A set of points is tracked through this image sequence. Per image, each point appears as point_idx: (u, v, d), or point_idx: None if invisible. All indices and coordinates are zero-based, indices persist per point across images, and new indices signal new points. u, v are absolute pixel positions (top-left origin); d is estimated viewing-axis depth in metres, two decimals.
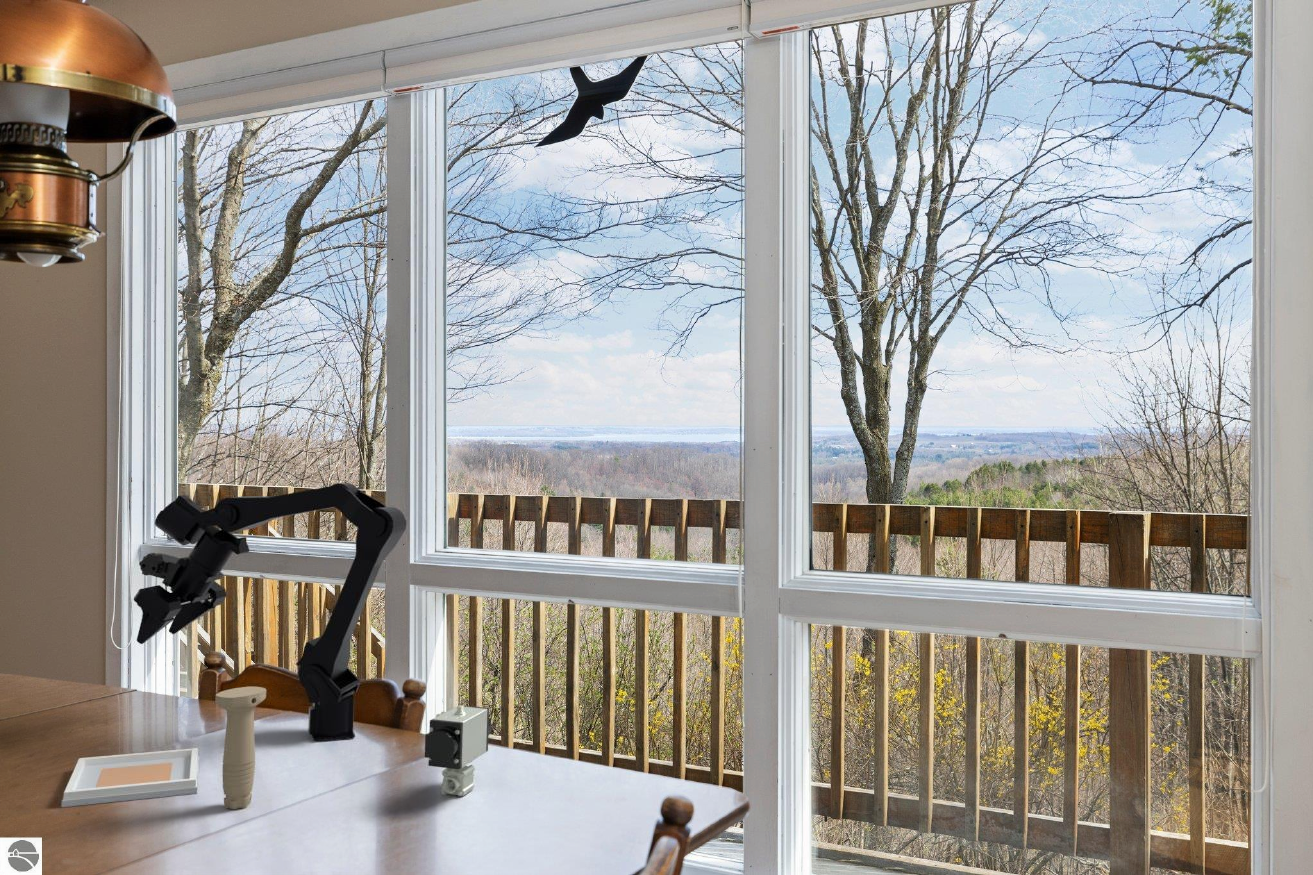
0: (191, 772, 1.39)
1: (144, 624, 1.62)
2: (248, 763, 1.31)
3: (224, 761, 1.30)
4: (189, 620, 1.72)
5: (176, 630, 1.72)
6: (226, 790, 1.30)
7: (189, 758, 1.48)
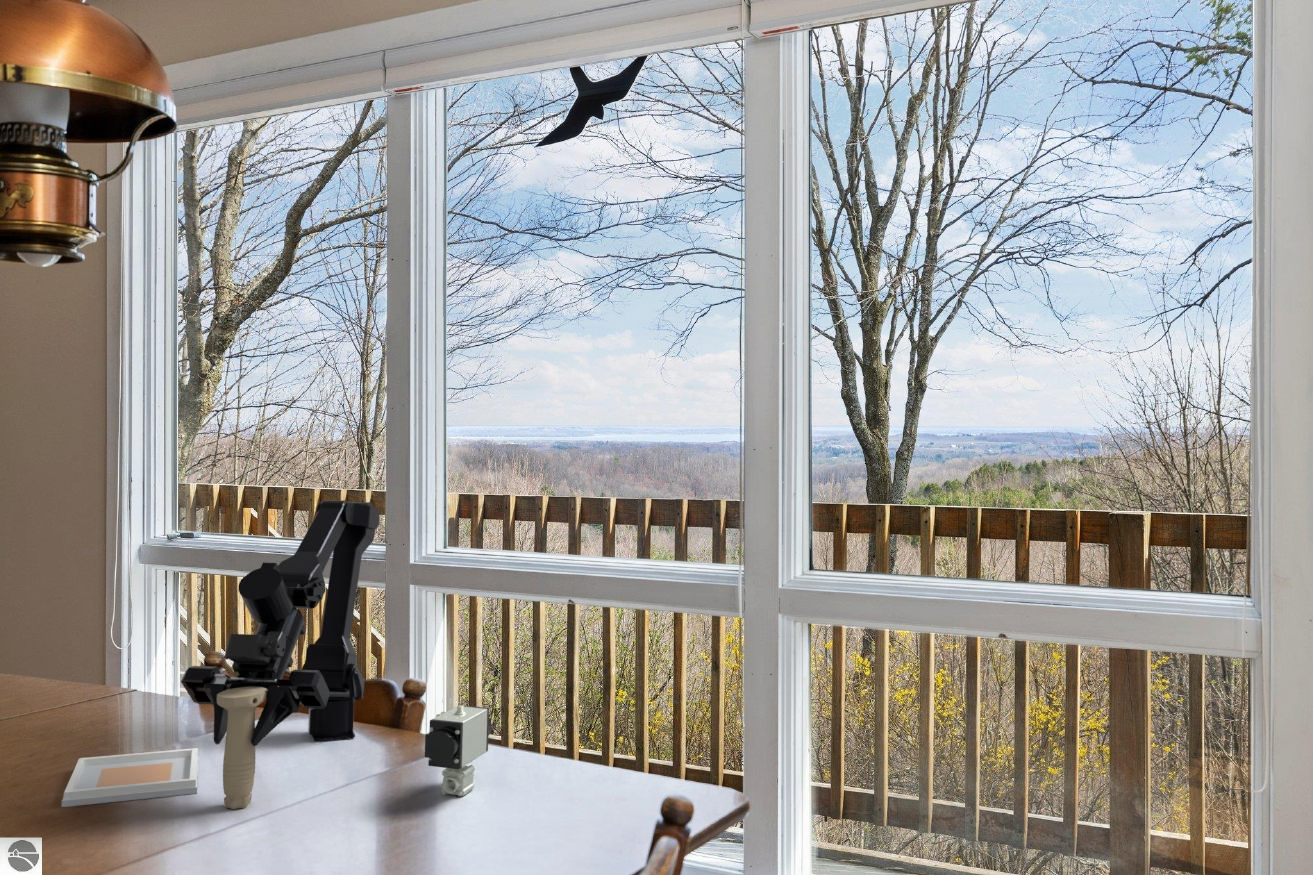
0: (191, 772, 1.39)
1: (270, 718, 1.32)
2: (248, 763, 1.31)
3: (225, 761, 1.30)
4: None
5: (221, 738, 1.31)
6: (226, 790, 1.30)
7: (189, 758, 1.48)
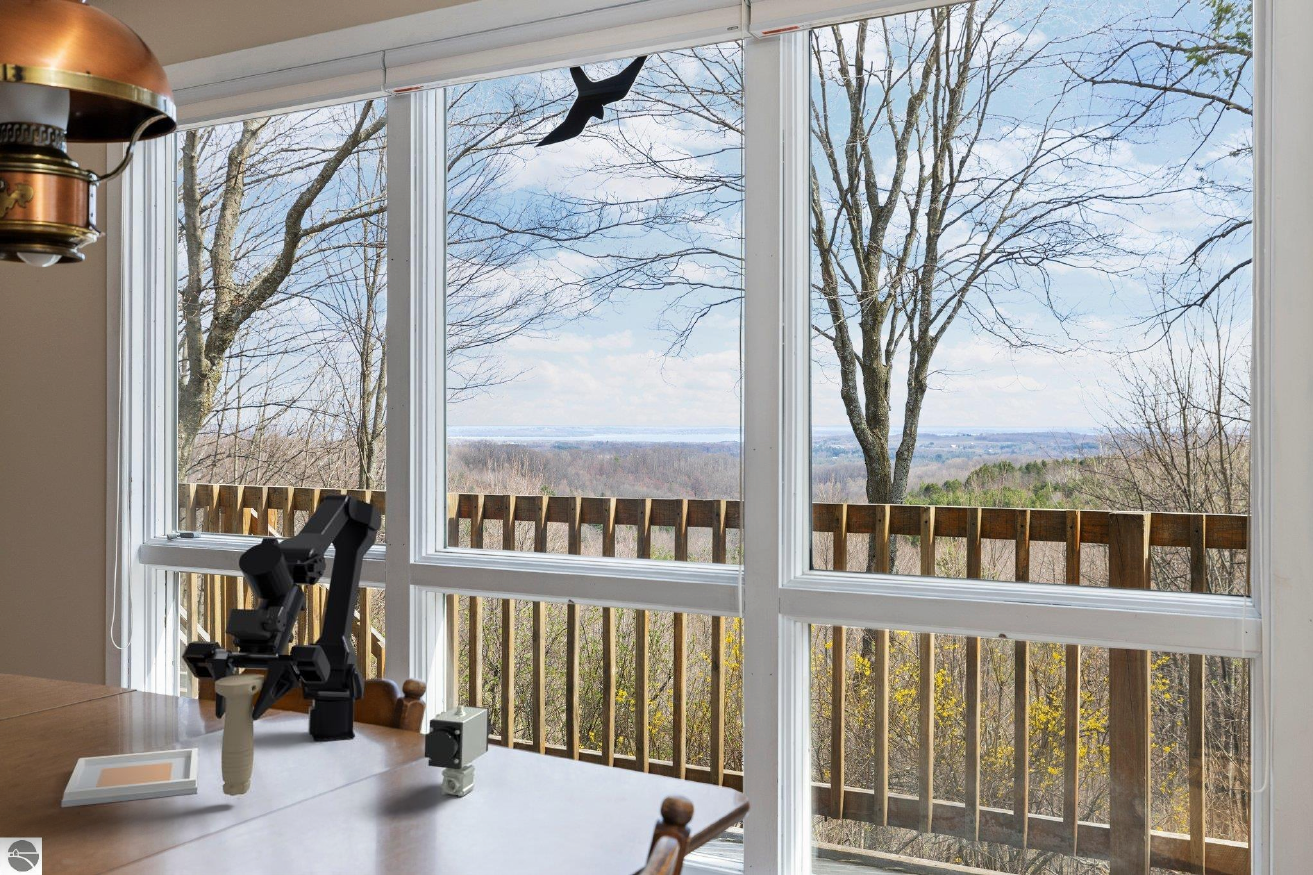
0: (191, 772, 1.39)
1: (270, 693, 1.32)
2: (248, 750, 1.31)
3: (223, 748, 1.30)
4: None
5: (223, 713, 1.31)
6: (225, 777, 1.30)
7: (189, 758, 1.48)
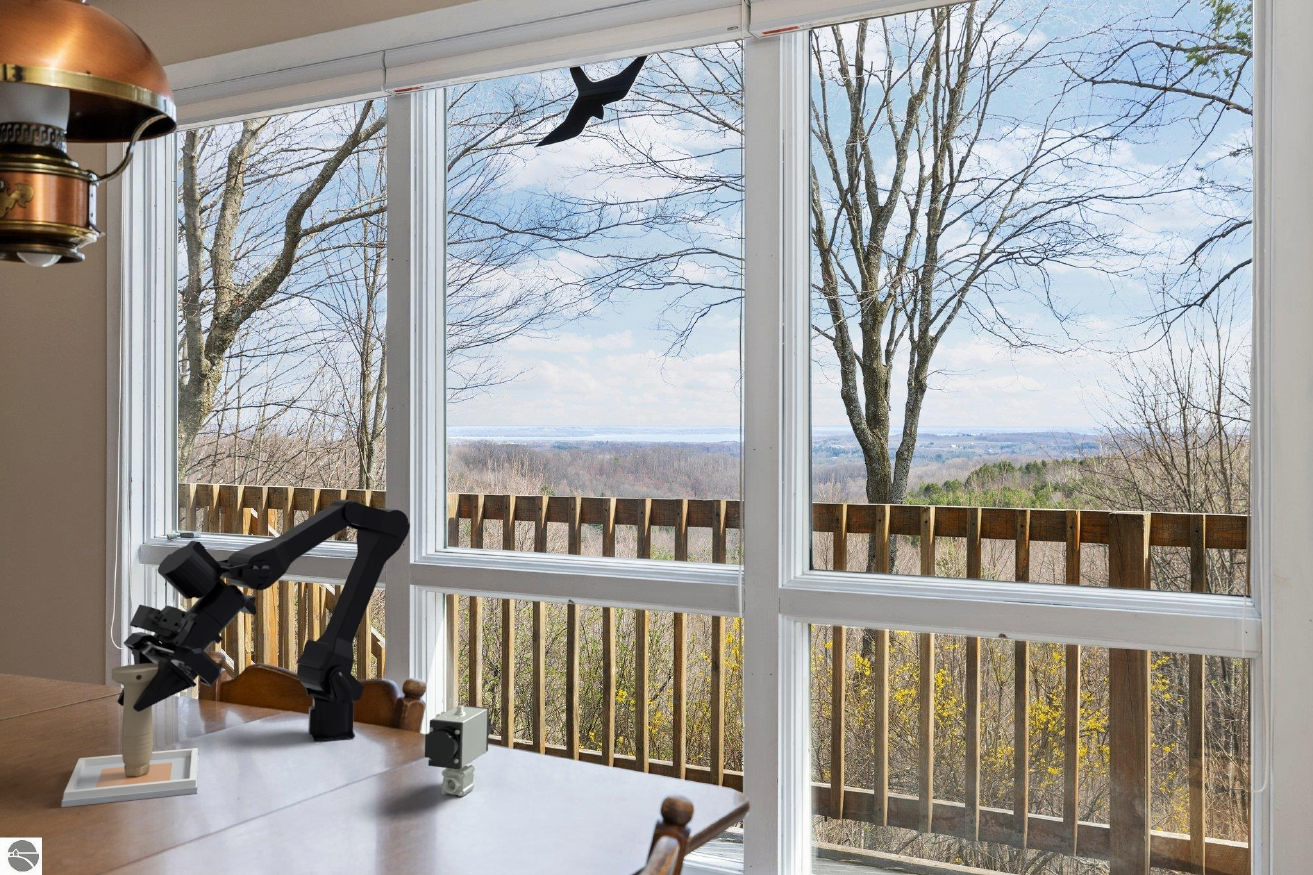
0: (191, 772, 1.39)
1: (156, 688, 1.38)
2: (137, 736, 1.39)
3: None
4: None
5: None
6: None
7: (189, 758, 1.48)
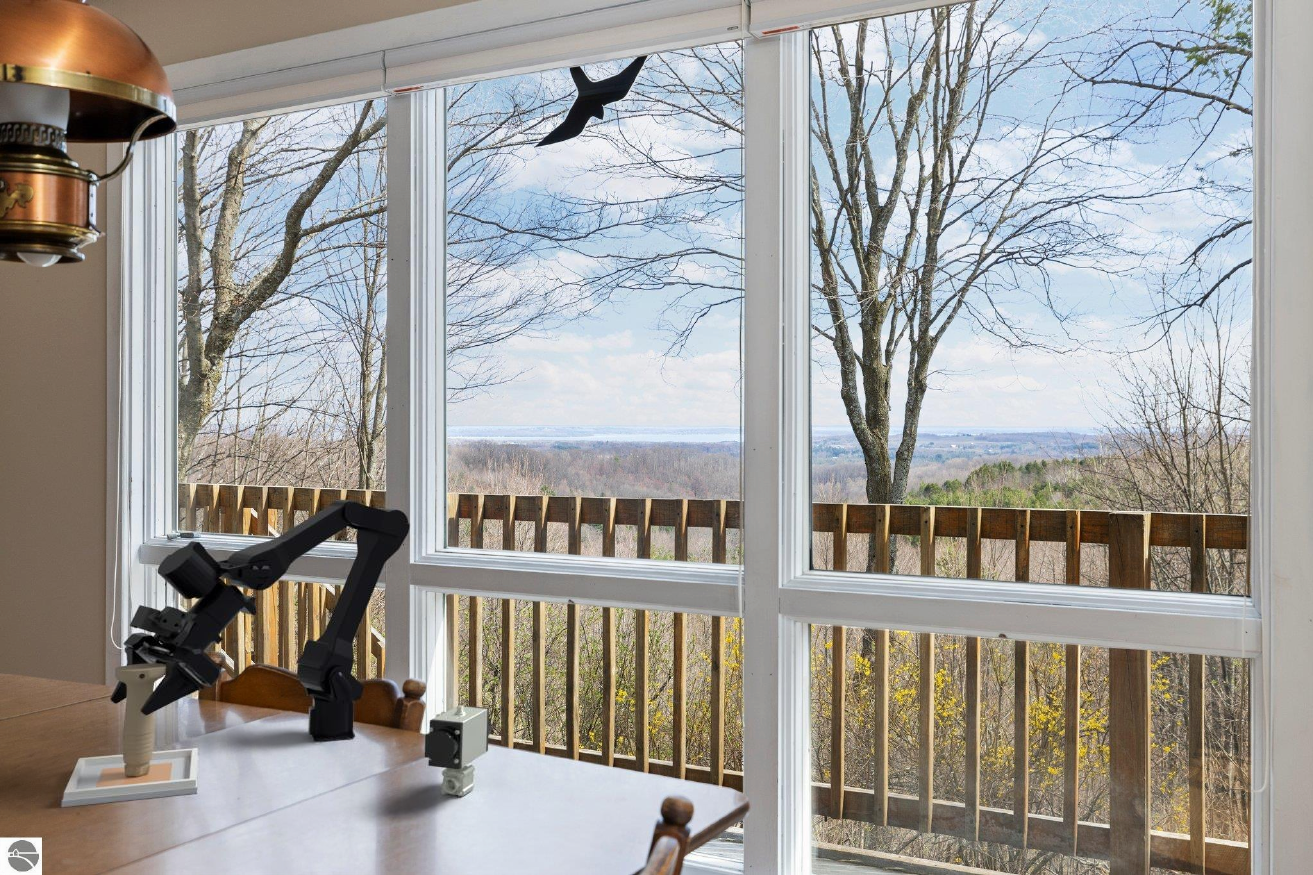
0: (191, 772, 1.39)
1: (163, 691, 1.37)
2: (139, 735, 1.39)
3: None
4: None
5: (121, 699, 1.43)
6: (123, 757, 1.39)
7: (189, 758, 1.48)
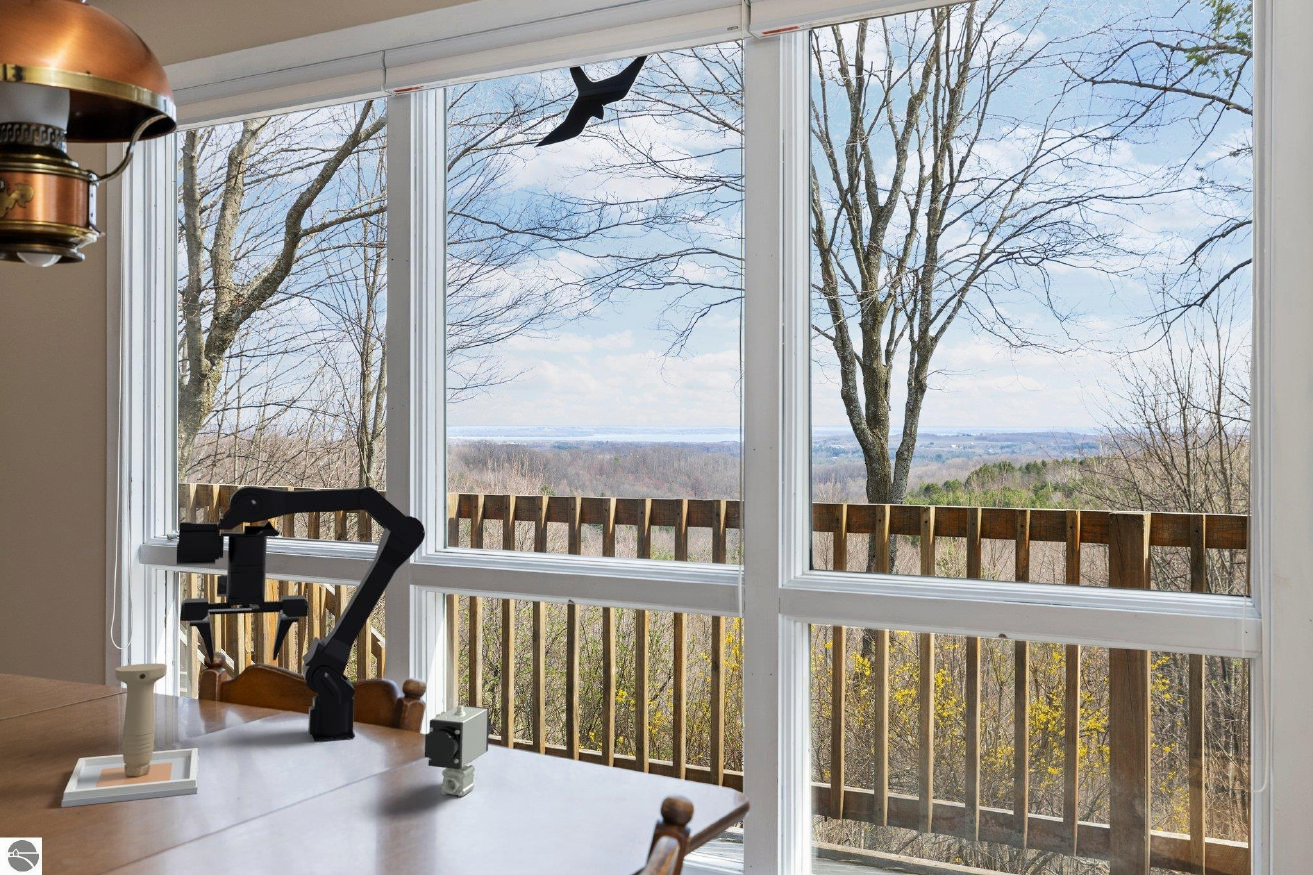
0: (191, 772, 1.39)
1: None
2: (139, 735, 1.39)
3: None
4: (276, 639, 1.60)
5: (273, 654, 1.61)
6: (123, 757, 1.39)
7: (189, 758, 1.48)
